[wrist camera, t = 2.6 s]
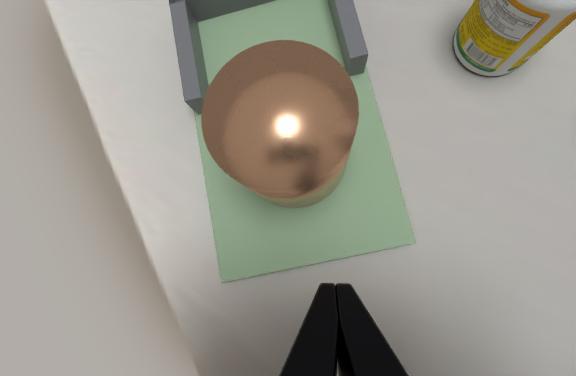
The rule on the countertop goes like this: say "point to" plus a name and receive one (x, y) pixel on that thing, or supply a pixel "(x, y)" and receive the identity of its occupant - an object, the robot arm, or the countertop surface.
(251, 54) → the copper metal cylinder
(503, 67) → the supplement bottle
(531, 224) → the countertop surface
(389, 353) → the robot arm
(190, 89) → the shallow gray tray
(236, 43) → the green
